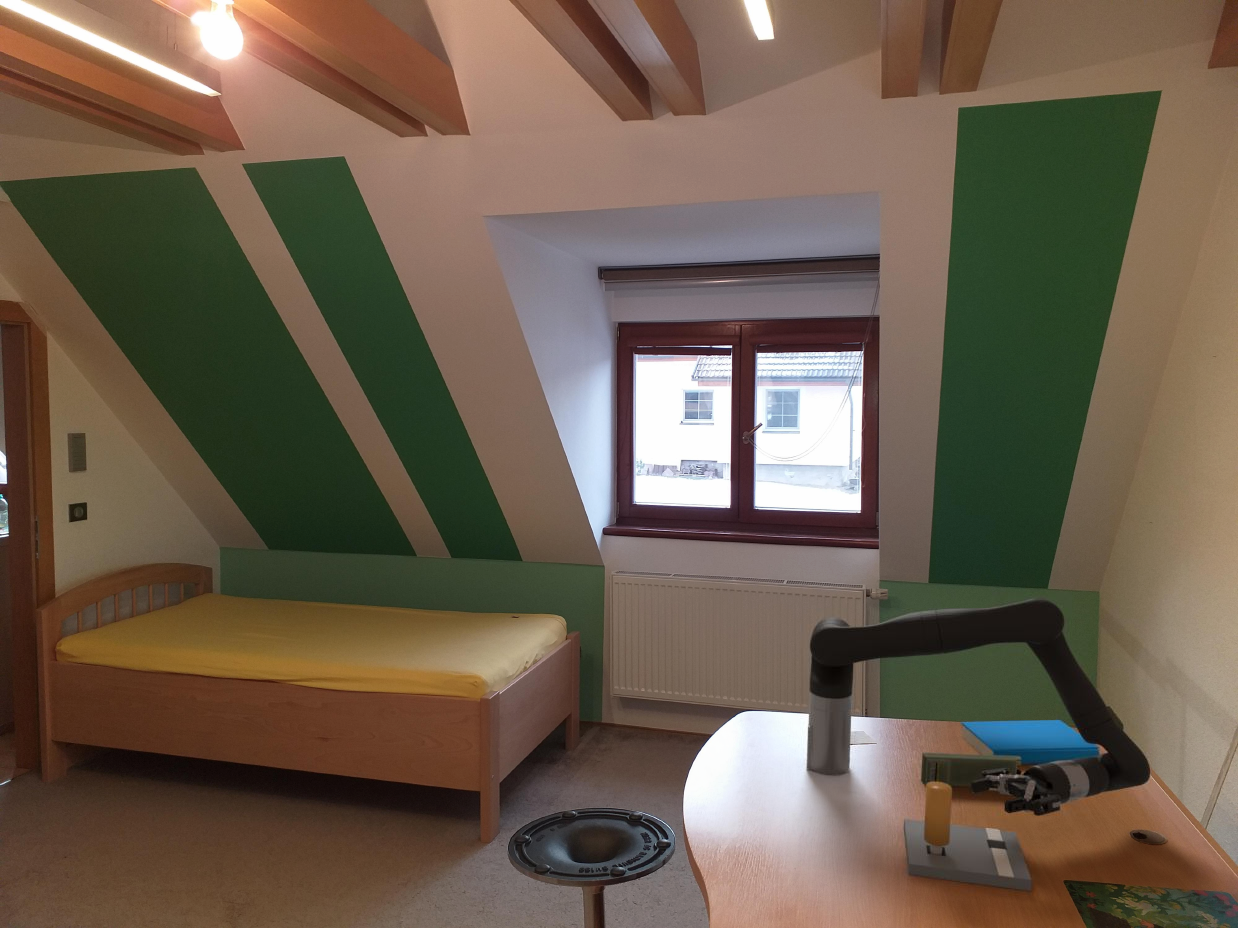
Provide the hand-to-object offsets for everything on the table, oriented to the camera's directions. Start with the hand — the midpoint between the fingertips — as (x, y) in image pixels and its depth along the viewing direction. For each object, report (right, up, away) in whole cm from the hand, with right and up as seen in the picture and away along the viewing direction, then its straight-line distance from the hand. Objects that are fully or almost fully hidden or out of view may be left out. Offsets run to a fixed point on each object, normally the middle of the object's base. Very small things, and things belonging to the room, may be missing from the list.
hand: (988, 796), depth 171 cm
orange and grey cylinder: (-11, -11, -3) cm, 15 cm away
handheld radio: (+10, -8, +28) cm, 31 cm away
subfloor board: (-5, -11, -2) cm, 12 cm away
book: (+28, -6, +48) cm, 56 cm away
